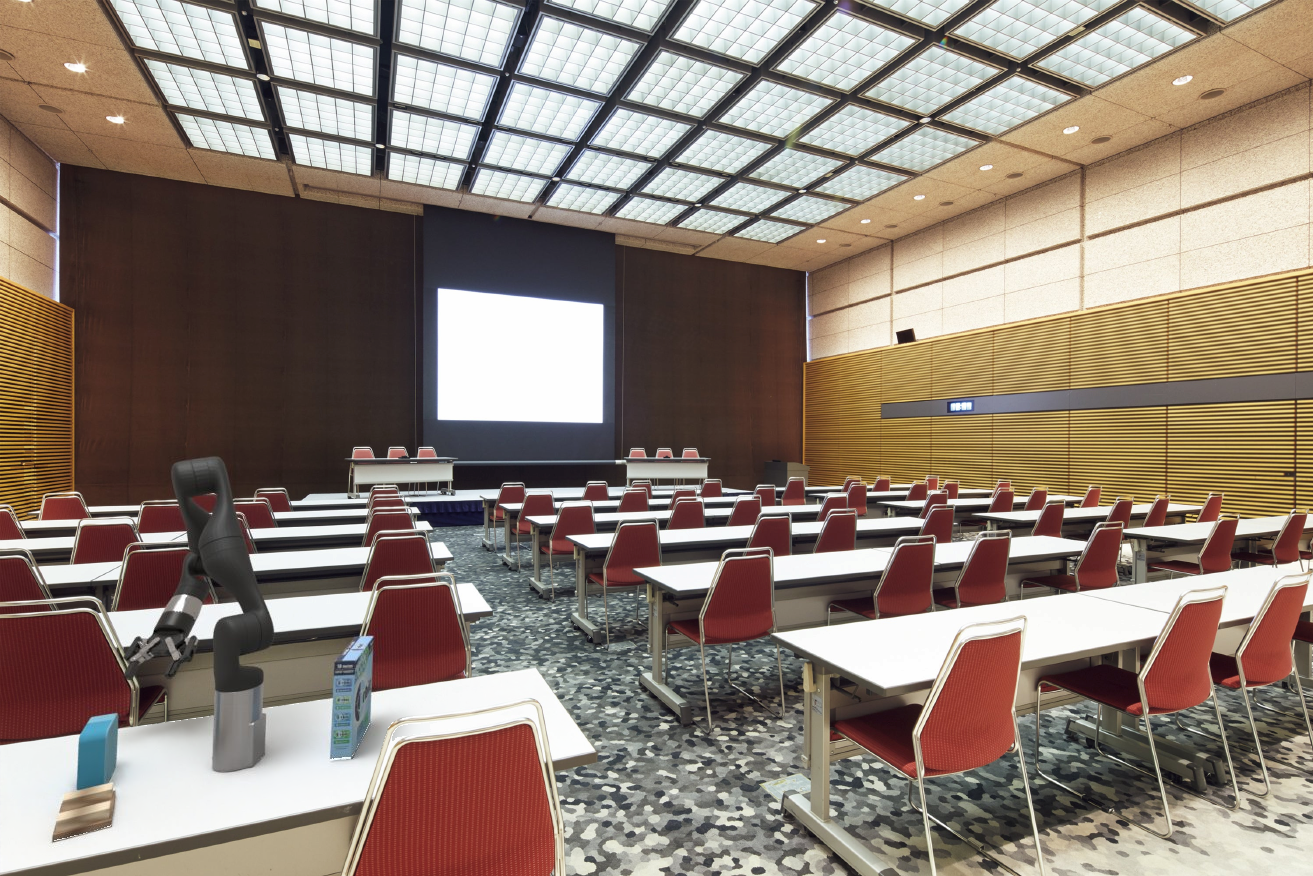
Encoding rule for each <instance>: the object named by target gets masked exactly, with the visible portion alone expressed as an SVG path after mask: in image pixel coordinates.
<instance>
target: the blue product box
mask: <svg viewBox="0 0 1313 876" xmlns="http://www.w3.org/2000/svg"><path fill="white" fill-rule="evenodd" d="M374 639H375V638H374V635H366V636H365V635H364V636H363V635H362V636H354V637H353V639H352V640H351V641H350V642H349V644H348V645H347V646H346V647H345V648H344V649H343V651H341V653H340V655H338V657H337V658H336V659H335V660H334V662H333V663H334V665H333V686H332V687H333V688H332V707H331V711H332V712H331V730H330V752H329V753H330V755H329V760H330V759H332V758H333V759H334V758H342V757H352V755H353V754H354V752H355V750H356V748H357V746H358V744H359V743H360V744H361V742H362V741H361V739H362V737H363V735H364V733H365V731H366V729H367V727H368V725H369V723H370V724H371V716H372V714H371V713H372V687H373V659H374V658H373V657H374ZM369 726H370V725H369ZM368 728H369V727H368ZM367 730H368V729H367ZM366 732H367V731H366ZM365 734H366V733H365ZM364 736H365V735H364ZM363 738H364V737H363ZM362 740H363V739H362ZM360 741H361V742H360ZM360 744H359V745H360ZM358 747H359V746H358ZM357 749H358V748H357ZM356 751H357V750H356ZM355 753H356V752H355ZM354 755H355V754H354Z"/></svg>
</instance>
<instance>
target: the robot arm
mask: <svg viewBox="0 0 1313 876" xmlns="http://www.w3.org/2000/svg"><path fill="white" fill-rule="evenodd" d="M170 473H171V482H172V486H173V490H174V494H175V498H176V501H177V505H178V508H179V511H180V514H181V517H182V520H183V523H184V526H185V530H186V537H187V544H188V549H189V551H190V552H188V553H187V554H186V555H185V556H184V559H183V562H182V568H181V569H182V571H181V574H180V580H179V583H178V584H177V585H178V586H177V588H176V589H175V591H174V593H173V595H172V597H171V599H170V600H169V601H168V603H167V604H166V606H165V607H164V610H163V611H162V613H161V615H160V617H159V619H158V621H157V622H156V624H155V626H154V629H153V632H152V633H151V635H150V636H149V637H148V638H147V637H145V638H144V637H143V638H142V637H141V636H136V637H134V639H133V641H132V642H131V644H130V646H129V647H128V649H127V650H126V652H125V654H124V655H123V657H122V658H123V660H124V661H125V662H127V664H128V665H127V667H126V669H125V671H124V672H123V676H124V678H125V679H126V680H127V681H132V680H133V679H134V678H135V675H136V674H137V672H138V670H139V668H140V665H141V664H143V663H144V662H145V661H149V660H151V659H152V658H154V657H162V656H164V657H169V656H171V657H172V658H173V659H172V660H171V661H170V664H169V665H168V667H167V669H166V671H165V673H164V678H165V679H166V680H172V679H173V678H174V677H175V676H176V675H177V673H178V670H179V668H180V667H181V665H182V664H183V663H190V662H193V659H194V656H195V654H196V651H197V649H198V646H199V643H200V640H199V638H198V637H197V636H196V635H194V634H193V635H191V636H190V634H191V632H192V631H193V630H192V629H193V627H194V625H195V624H196V622H197V620H198V618H199V616H200V614H201V611H202V607H203V605H204V603H205V601H206V599H207V597H208V595H209V592H210V591H211V586H210V584H209V582H207V581H206V580H204V579H202V578H211V579H212V580H214V581H215V582H216V584H218V585H219V586H221V587H222V588H223V589H225V590H226V591H227V592H228V593H230V594H231V596H233V597H234V599H235V600H236V602H237V603H238V605H239V606H240V609H241V611H242V613H239V614H234V615H233V614H232V615H228V616H224V617H221V618H220V619H218V620H217V622H216V623H215V625H214V628H213V631H212V632H213V633H212V648H213V649H212V650H213V651H212V652H213V676H214V677H213V678H214V701H213V702H214V703H213V704H214V705H213V727H212V728H213V729H212V731H213V733H212V752H211V753H212V754H211V755H212V756H211V768H212V769H213V771H216V772H221V773H222V772H223V773H224V772H225V773H226V772H235V771H238V770H239V771H240V770H242V769H246V768H253V767H254V766H255V765H256V764H257V763H258V762H259V761H260V760H261V759H262V758H263V757H264V755H265V754H266V734H267V733H266V731H267V728H266V727H267V713H266V712H264V713H263V704H264V702H263V701H264V700H263V699H264V697H263V696H264V677H265V675H264V670H263V668H261V667H258V666H254V665H241V664H240V657H241V656H245V655H250V654H254V653H257V652H261V651H264V650H267V649H269V648H270V647H271V646H272V645H273V643H274V639H275V627H274V622H273V619H272V616H271V614H270V611H269V609H268V606H267V604H266V602H265V601H266V600H265V598H264V596H263V594H262V591H261V589H260V587H259V584H258V581H257V577H256V575H255V570H254V568H253V565H252V561H251V558H250V553H249V548H248V545H247V541H246V539H245V536H244V533H243V529H242V527H241V523H240V520H239V516H238V513H237V511H236V508H235V502H234V498H233V494H232V493H233V492H232V489H231V483H230V479H229V474H228V471H227V468H226V464H225V462H224V460H223V459H222V458H221V457H220V456H209V457H208V456H207V457H200V458H194V459H193V458H192V459H187V460H181V461H177V462H174V464H173V465H172V467H171V470H170ZM211 494H215V495H216V499H215V500H216V501H215V505H214V507H213V510H212V512H211V513H210V512H209V511H207V510H205V508H203V507H201V506H200V505H199V504H198V503H196V501H195V500H194V498H196V497H203V496H207V495H211ZM198 577H202V578H198ZM189 636H190V637H189ZM185 645H186V647H185V649H184V651H183V654H181V652H180V649H181V648H183V646H185ZM148 651H149V653H147V652H148ZM261 757H262V758H261ZM252 766H253V767H252Z"/></svg>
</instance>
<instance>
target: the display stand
mask: <svg viewBox="0 0 1313 876" xmlns="http://www.w3.org/2000/svg"><path fill="white" fill-rule="evenodd" d="M116 793H117V789H115V790H114V782H113V781H112V782H108V784H103V785H99V786H95V787H90V788H86V789H82V790H77V789H76V790H75V791H74V790H73V791H70V792H65V793H64V794H63V798H62V802H61V804H60V808H59V811H58V814H57V819H56V822H55V825H54V828H53V829H54V830H53V831H52V832H53V833H52V834H51V835H52V837H51V838H52V840H51V842H52V841H54V840H57V839H62V838H67V837H70V836H74V835H78V836H80V835H79V834H82V835H84V834H83V833H86V832H89V833H91V832H90V831H93V832H95V831H94V830H97V829H101V828H104V827H107V826H110V825H111V824H113V818H114V811H113V810H114V809H115V802H116ZM112 817H113V818H112ZM111 826H112V825H111ZM104 829H105V828H104ZM101 830H102V829H101ZM97 831H98V830H97ZM86 834H87V833H86ZM74 837H75V836H74ZM70 838H71V837H70ZM67 839H68V838H67Z"/></svg>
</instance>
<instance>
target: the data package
mask: <svg viewBox="0 0 1313 876" xmlns="http://www.w3.org/2000/svg"><path fill="white" fill-rule="evenodd" d="M118 733H119V714H118V713H117V712H115V713H109V714H102V715H96V716H91V717H90V718H89V720H88V721H87V722H86V724H85V726H84V728H83V729H82V731H81V732H80V735H79V738H78V745H77V746H78V747H77V748H78V749H77V750H78V751H77V768H76V769H77V771H76V772H77V774H76V791H77V790H82V789H86V788H90V787H95V786H99V785H103V784H108V783H110V779H111V777H112V775H113V773H114V771H115V769H116V766H117V759H118V757H117V756H118V736H119V734H118Z"/></svg>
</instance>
